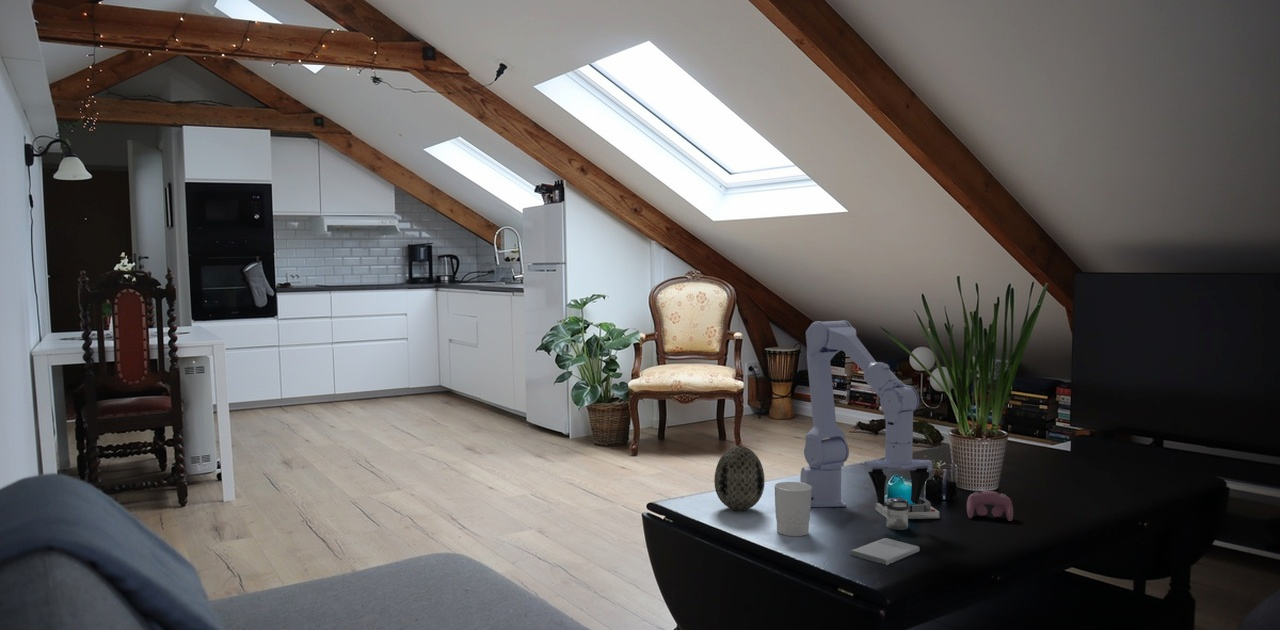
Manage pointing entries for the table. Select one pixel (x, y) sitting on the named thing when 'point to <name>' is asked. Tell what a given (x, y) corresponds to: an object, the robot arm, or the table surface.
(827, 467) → the robot arm
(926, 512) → the white display stand
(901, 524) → the lens
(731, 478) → the decorative egg
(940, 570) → the table surface
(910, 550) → the external hard drive
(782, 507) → the white cup
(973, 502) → the video game controller
